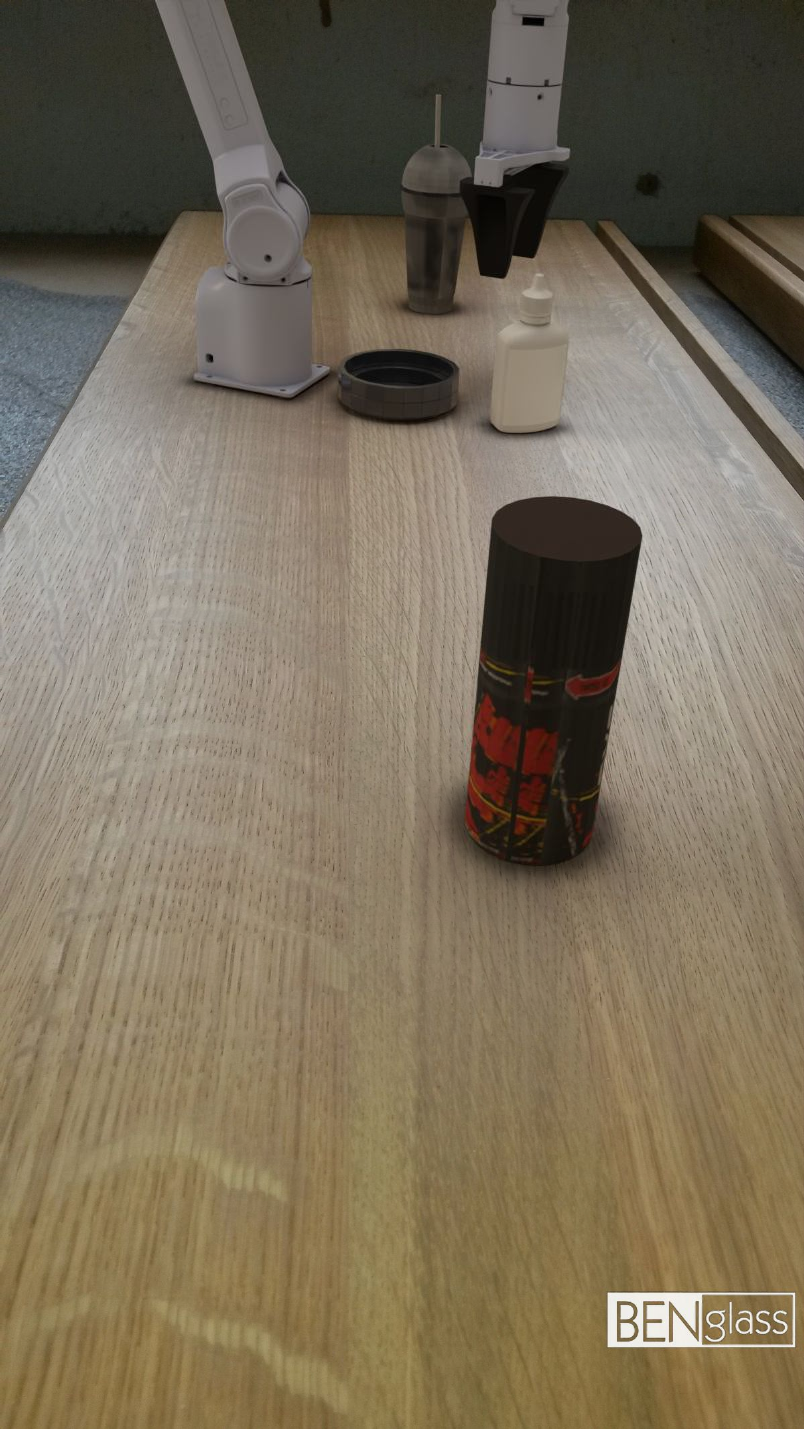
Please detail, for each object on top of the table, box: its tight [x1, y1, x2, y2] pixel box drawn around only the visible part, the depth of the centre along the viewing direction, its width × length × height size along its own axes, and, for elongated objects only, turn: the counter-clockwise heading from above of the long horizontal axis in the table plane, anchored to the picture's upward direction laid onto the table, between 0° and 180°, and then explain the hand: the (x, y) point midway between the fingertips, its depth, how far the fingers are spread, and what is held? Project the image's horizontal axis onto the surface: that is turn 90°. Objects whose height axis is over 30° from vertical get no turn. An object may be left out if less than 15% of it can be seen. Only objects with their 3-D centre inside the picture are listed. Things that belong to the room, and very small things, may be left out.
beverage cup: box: [399, 94, 473, 315], centre depth 121 cm, size 7×7×20 cm
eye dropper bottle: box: [489, 273, 570, 434], centre depth 95 cm, size 4×6×12 cm
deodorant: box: [464, 495, 643, 866], centre depth 52 cm, size 6×6×15 cm
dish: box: [337, 348, 461, 422], centre depth 102 cm, size 10×10×3 cm
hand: (508, 266), depth 100 cm, fingers open, 7 cm apart
